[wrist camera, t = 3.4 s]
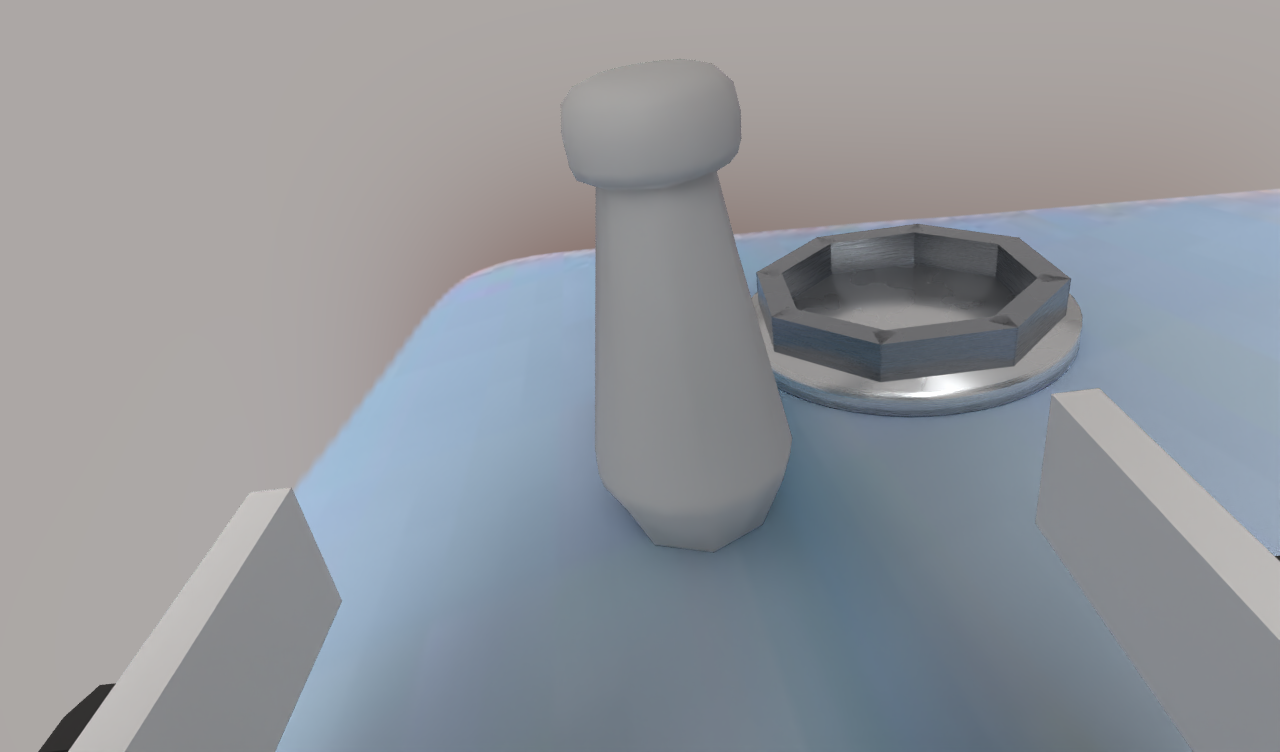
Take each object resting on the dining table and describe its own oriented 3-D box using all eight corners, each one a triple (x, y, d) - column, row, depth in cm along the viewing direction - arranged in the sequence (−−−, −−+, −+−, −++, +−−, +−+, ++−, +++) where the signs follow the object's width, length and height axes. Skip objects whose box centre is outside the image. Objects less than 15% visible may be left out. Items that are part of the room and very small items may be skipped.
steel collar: (998, 254, 38) (1002, 204, 37) (1152, 390, 26) (1165, 324, 25) (729, 290, 39) (724, 242, 37) (765, 436, 27) (760, 374, 26)
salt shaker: (774, 588, 21) (733, 82, 15) (580, 561, 23) (472, 106, 17) (807, 460, 26) (787, 35, 19) (644, 447, 28) (578, 58, 22)
